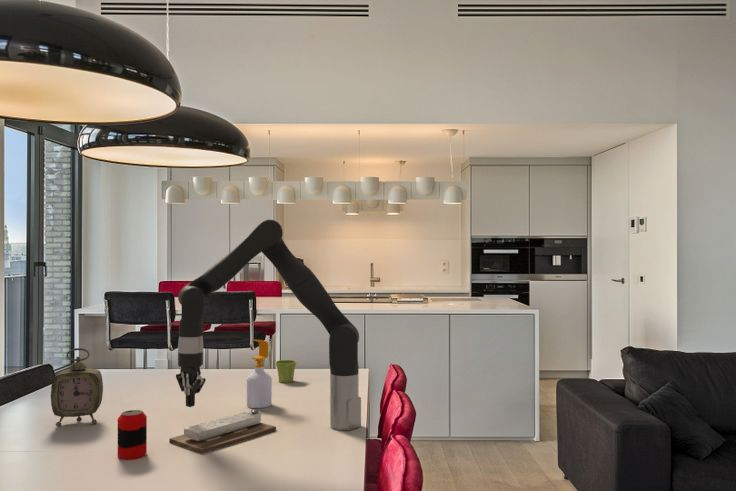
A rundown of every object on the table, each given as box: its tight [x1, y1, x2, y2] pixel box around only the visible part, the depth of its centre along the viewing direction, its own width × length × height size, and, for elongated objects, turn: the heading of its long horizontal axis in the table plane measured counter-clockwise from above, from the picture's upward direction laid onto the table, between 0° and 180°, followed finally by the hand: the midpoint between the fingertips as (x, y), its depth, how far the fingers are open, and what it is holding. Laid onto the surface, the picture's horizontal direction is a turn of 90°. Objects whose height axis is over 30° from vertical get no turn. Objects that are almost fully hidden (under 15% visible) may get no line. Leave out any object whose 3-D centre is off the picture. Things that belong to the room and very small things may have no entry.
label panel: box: [168, 421, 277, 455], centre depth 184 cm, size 16×28×2 cm, turn 141°
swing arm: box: [183, 409, 262, 441], centre depth 185 cm, size 7×26×3 cm, turn 141°
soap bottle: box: [246, 338, 273, 409], centre depth 220 cm, size 9×9×25 cm
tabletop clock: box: [50, 347, 104, 428], centre depth 198 cm, size 14×9×25 cm, turn 105°
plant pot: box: [275, 359, 298, 384], centre depth 261 cm, size 9×9×9 cm
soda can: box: [117, 409, 148, 461], centre depth 167 cm, size 8×8×12 cm
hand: (190, 406), depth 185 cm, fingers closed
